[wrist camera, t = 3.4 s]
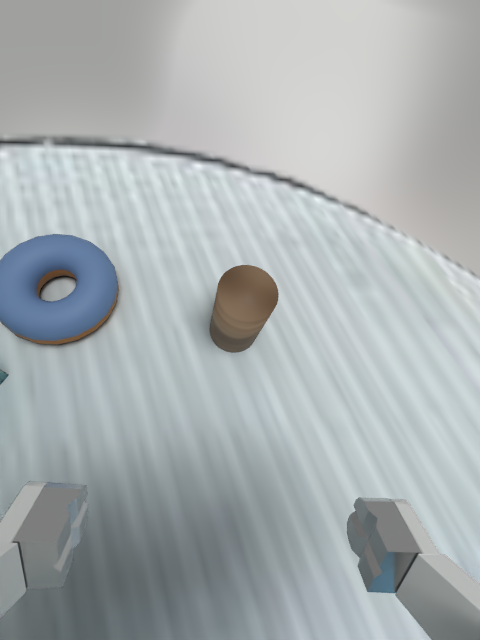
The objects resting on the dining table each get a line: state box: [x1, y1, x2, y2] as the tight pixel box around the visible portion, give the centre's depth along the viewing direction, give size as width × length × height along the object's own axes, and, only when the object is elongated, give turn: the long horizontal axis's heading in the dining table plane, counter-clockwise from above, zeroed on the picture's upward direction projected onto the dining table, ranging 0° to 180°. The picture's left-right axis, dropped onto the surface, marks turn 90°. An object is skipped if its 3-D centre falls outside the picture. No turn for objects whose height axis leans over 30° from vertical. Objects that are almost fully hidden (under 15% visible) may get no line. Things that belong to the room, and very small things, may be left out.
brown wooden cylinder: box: [210, 265, 278, 352], centre depth 27 cm, size 4×4×8 cm
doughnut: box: [0, 234, 118, 344], centre depth 28 cm, size 10×10×5 cm
